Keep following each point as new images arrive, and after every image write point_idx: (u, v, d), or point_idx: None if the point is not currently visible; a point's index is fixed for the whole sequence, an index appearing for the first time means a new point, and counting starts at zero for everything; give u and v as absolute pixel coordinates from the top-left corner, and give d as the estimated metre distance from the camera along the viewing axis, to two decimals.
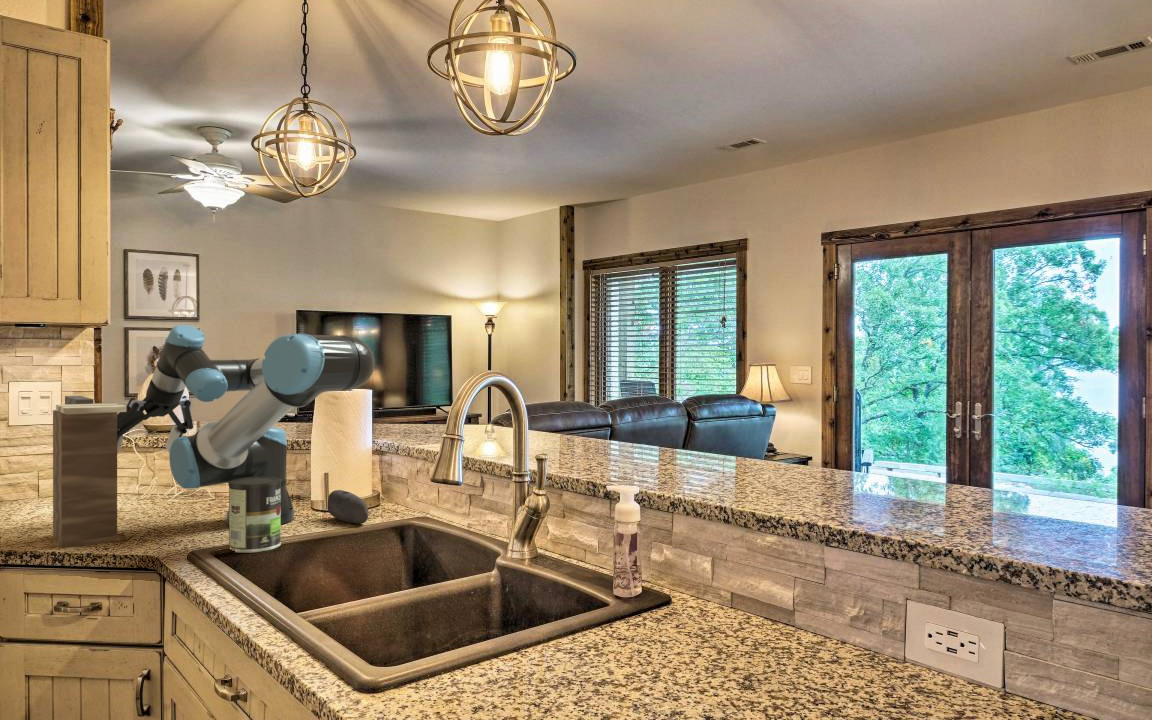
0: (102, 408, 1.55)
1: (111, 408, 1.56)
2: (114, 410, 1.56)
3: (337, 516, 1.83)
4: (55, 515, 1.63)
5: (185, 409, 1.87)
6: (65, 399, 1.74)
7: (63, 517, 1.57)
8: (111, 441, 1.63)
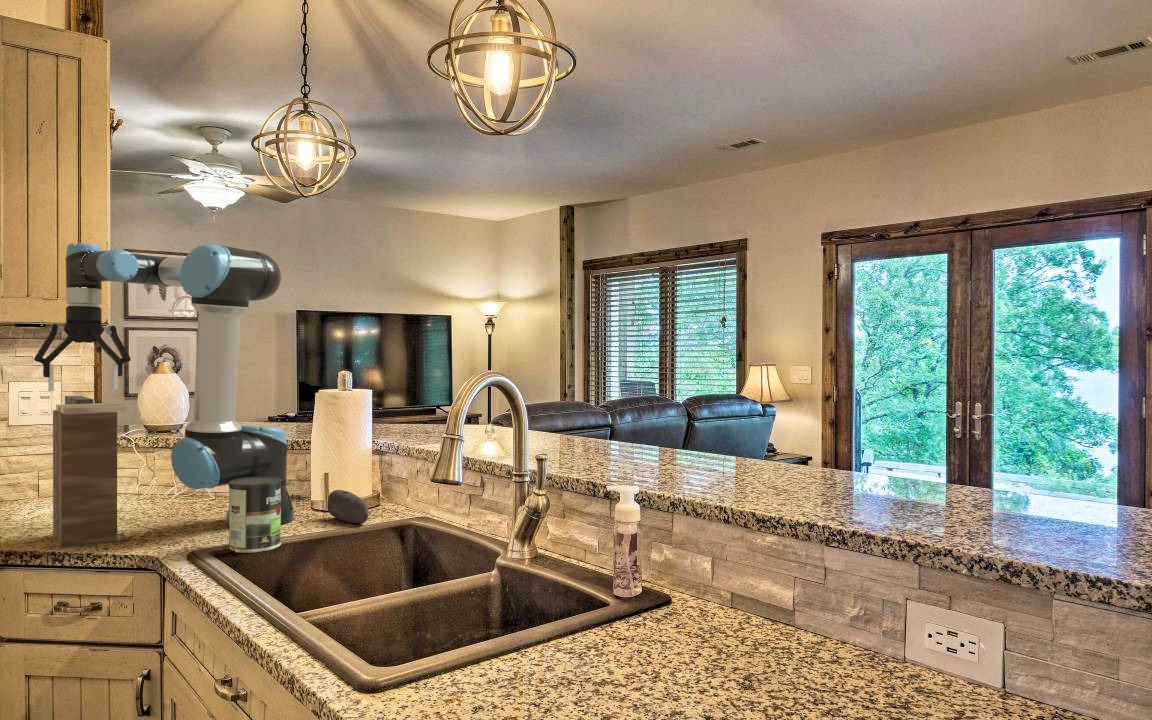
0: (102, 408, 1.55)
1: (111, 408, 1.56)
2: (114, 410, 1.56)
3: (337, 516, 1.83)
4: (55, 515, 1.63)
5: (112, 335, 1.93)
6: (65, 399, 1.74)
7: (63, 517, 1.57)
8: (111, 441, 1.63)
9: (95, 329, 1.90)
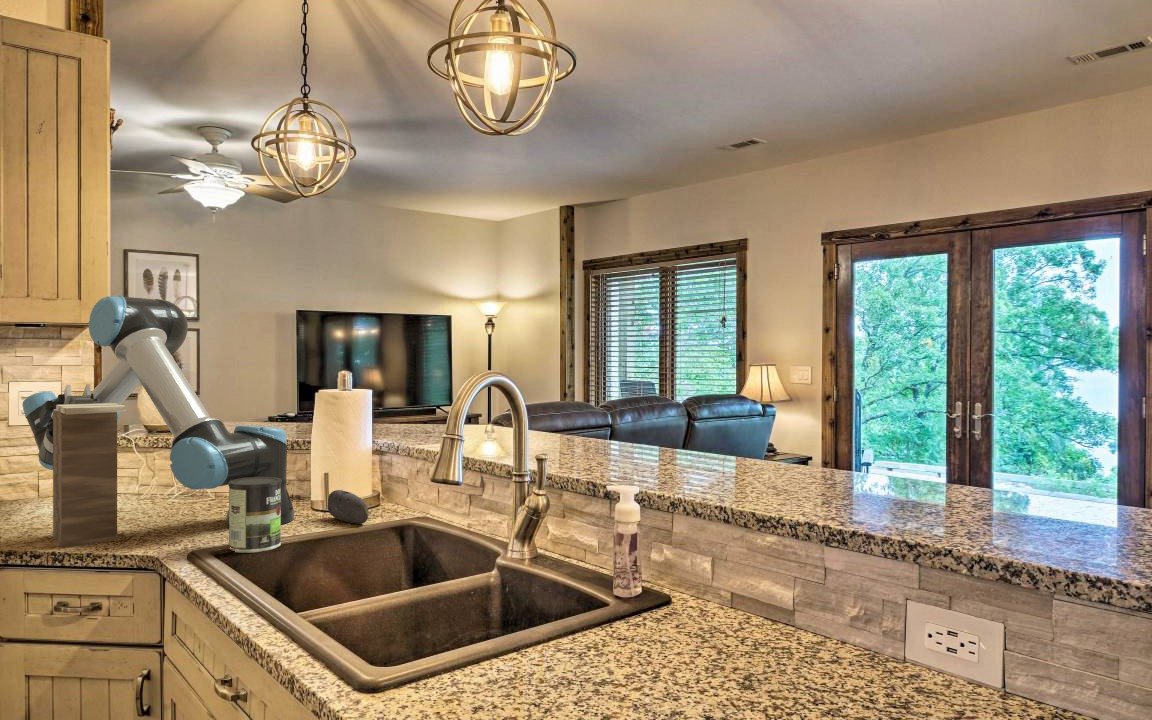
0: (102, 408, 1.55)
1: (111, 408, 1.56)
2: (114, 410, 1.57)
3: (337, 516, 1.83)
4: (55, 515, 1.63)
5: None
6: None
7: (63, 517, 1.57)
8: (111, 441, 1.63)
9: None
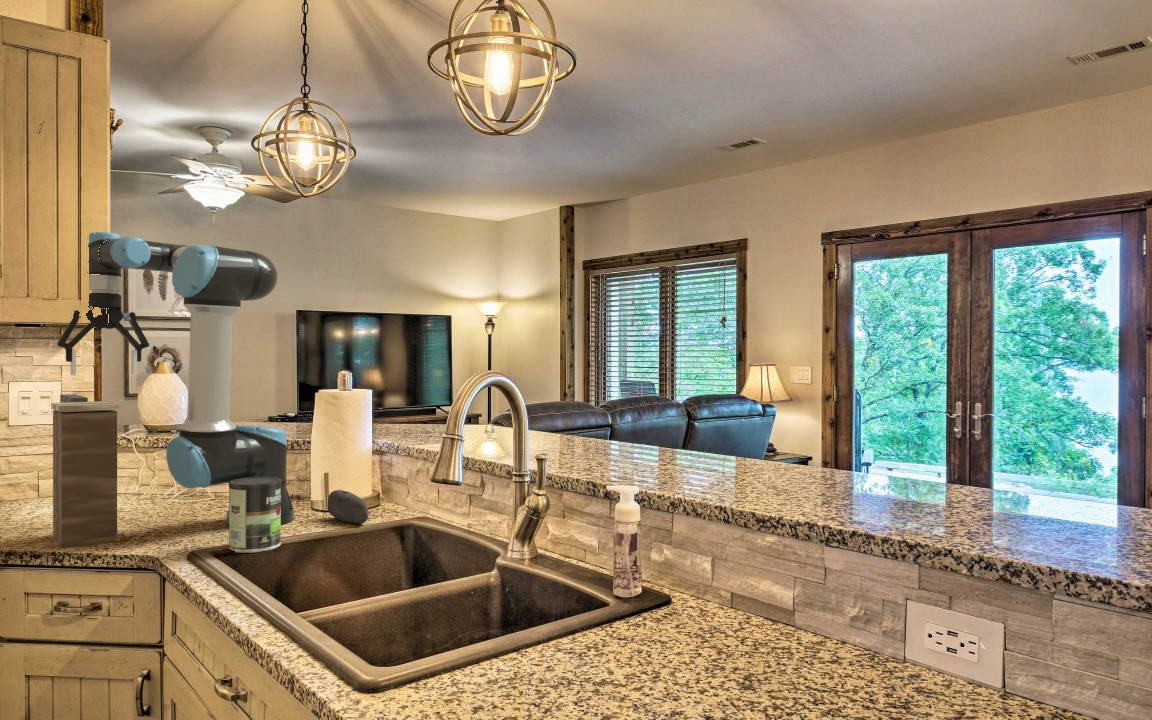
0: (96, 406, 1.60)
1: (104, 406, 1.61)
2: (107, 408, 1.62)
3: (337, 516, 1.83)
4: (55, 515, 1.63)
5: (132, 321, 1.99)
6: (60, 397, 1.79)
7: (63, 517, 1.57)
8: (111, 441, 1.63)
9: (115, 315, 1.96)
